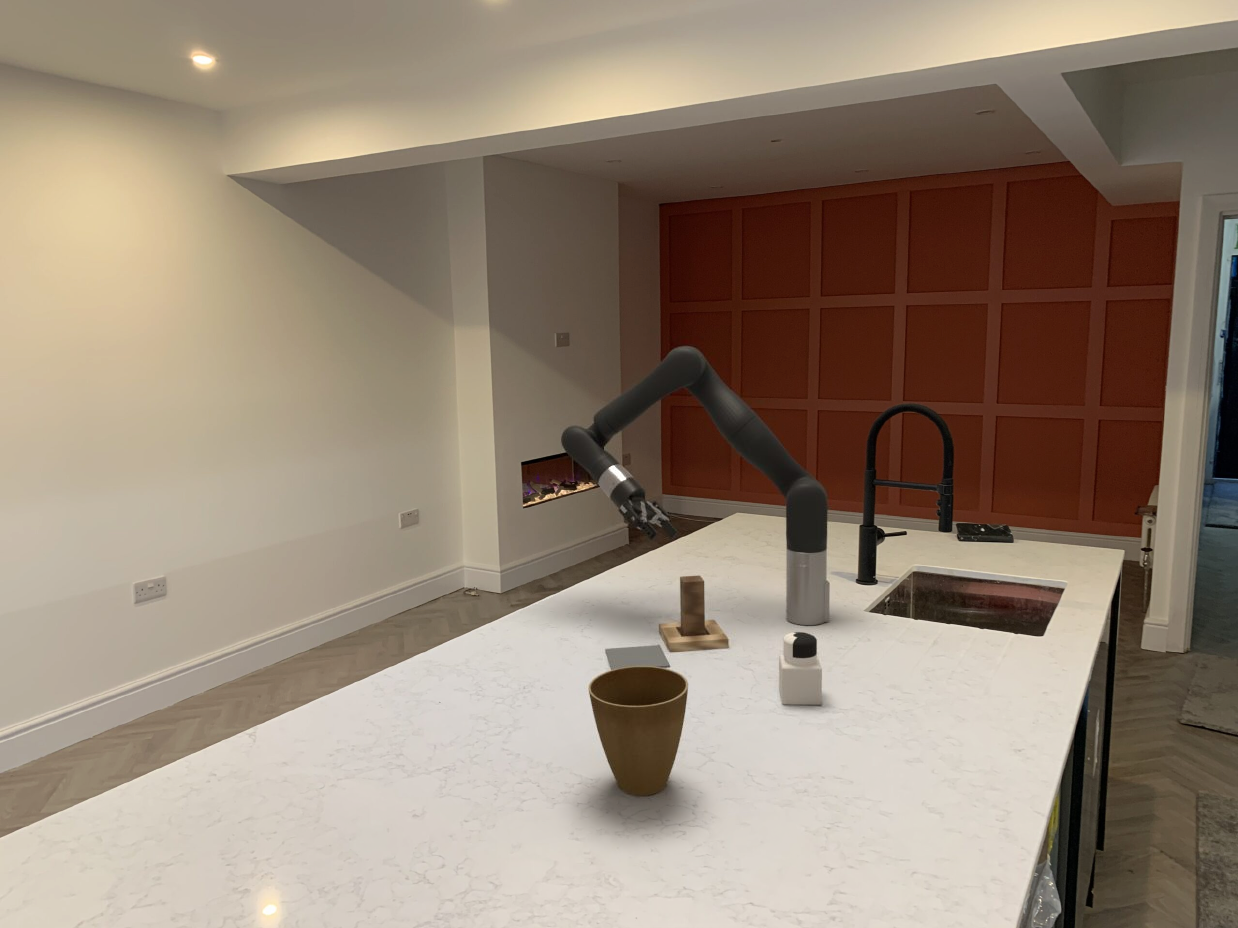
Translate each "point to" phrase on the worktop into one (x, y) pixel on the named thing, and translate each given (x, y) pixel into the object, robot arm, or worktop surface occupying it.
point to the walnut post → (692, 606)
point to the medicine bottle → (800, 670)
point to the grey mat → (637, 657)
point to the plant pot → (639, 724)
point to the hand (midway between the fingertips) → (665, 536)
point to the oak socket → (693, 637)
